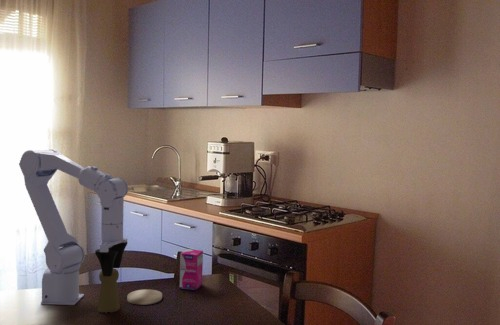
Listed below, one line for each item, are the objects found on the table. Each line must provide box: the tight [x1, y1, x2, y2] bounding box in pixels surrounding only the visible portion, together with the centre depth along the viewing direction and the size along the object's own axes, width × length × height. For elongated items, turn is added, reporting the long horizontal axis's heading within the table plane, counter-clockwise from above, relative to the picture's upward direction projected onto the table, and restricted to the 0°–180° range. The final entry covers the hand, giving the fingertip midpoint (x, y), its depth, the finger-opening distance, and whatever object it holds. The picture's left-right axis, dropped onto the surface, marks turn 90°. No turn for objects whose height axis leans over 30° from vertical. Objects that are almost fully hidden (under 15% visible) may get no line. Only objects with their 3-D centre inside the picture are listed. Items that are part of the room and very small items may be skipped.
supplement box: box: [179, 248, 204, 291], centre depth 149 cm, size 6×6×12 cm
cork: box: [96, 268, 121, 314], centre depth 129 cm, size 6×6×11 cm
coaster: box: [126, 288, 163, 306], centre depth 138 cm, size 10×10×1 cm
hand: (111, 271), depth 129 cm, fingers open, 7 cm apart
